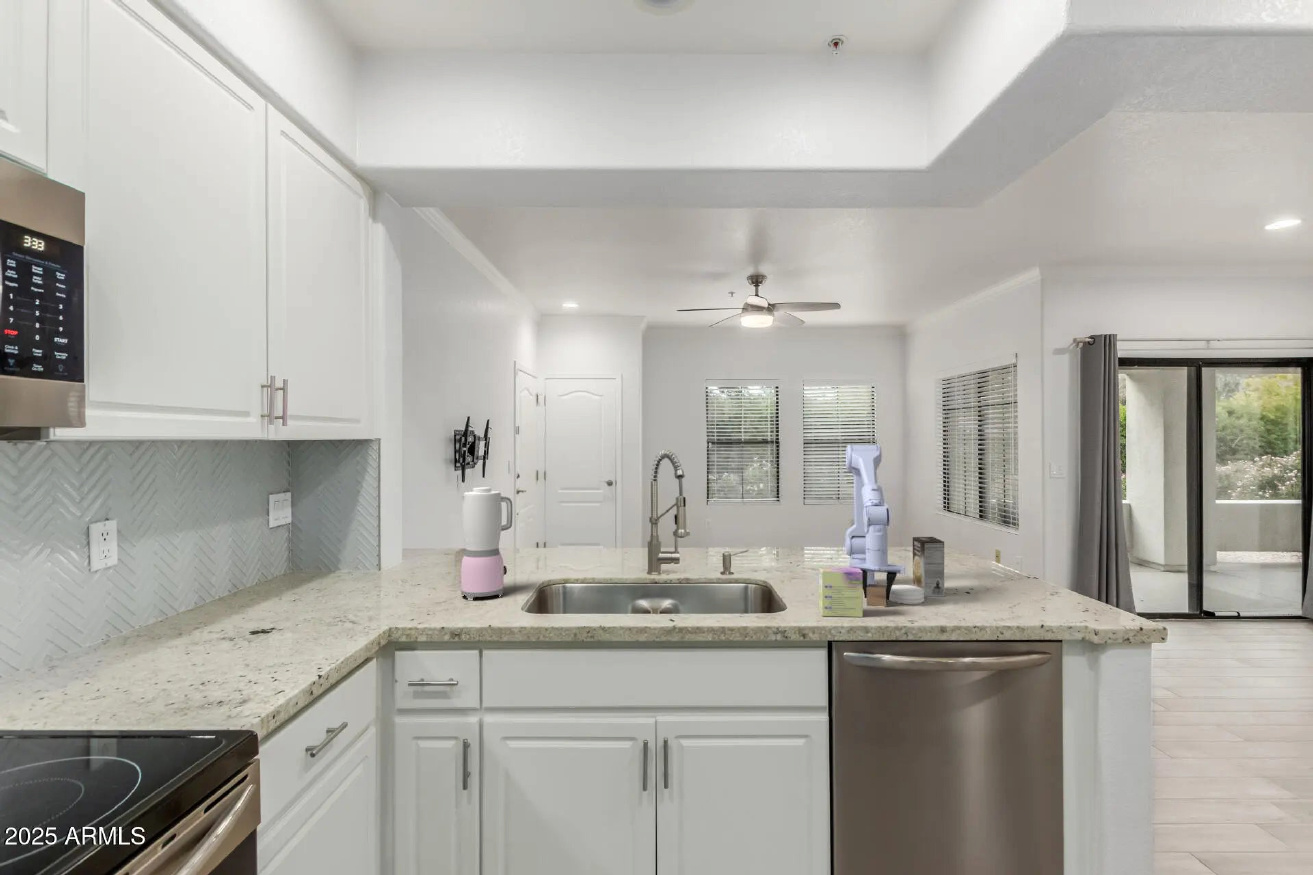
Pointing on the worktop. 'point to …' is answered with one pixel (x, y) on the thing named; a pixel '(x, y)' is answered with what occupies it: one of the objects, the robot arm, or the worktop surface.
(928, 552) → the coffee box
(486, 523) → the blender
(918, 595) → the white round dish
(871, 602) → the walnut block
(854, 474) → the robot arm
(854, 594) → the box
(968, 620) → the worktop surface
